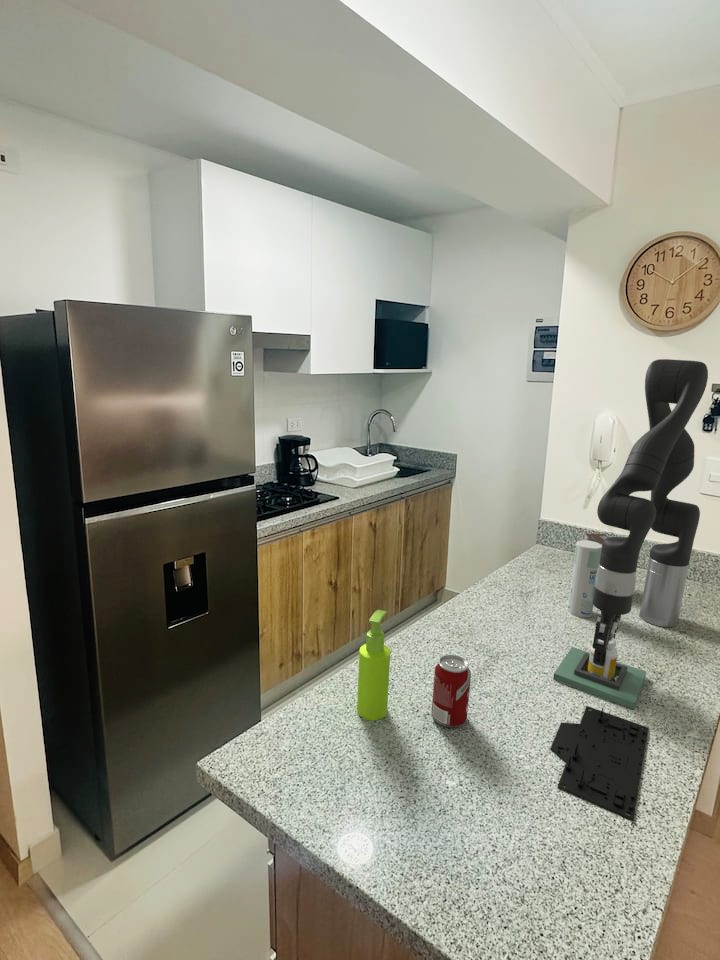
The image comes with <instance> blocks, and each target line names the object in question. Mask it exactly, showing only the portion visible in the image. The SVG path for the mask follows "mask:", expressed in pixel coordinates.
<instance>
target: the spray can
mask: <svg viewBox="0 0 720 960" xmlns="http://www.w3.org/2000/svg"><path fill="white" fill-rule="evenodd" d="M601 549H602V545H601V544H599V543H597V542H594V541H588V540H584V539H581V540H578V541H576V542H575V551H574V557H573V558H574V559H573V565H572V576H571V582H570V591H569V595H568V596H569V598H568V605H567V611H568V612H569V614H571V615H572V616H575V617H579V618H582V619H583V618H584V619H585V618H586V619H587V618H590V617H591V616H592V614H593V609H594V605H593V603H592V600H593V594H594V587H595V580H596V574H597V570H598V567H599V563H600V556H601Z"/></svg>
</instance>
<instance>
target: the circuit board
mask: <svg viewBox="0 0 720 960" xmlns="http://www.w3.org/2000/svg"><path fill="white" fill-rule="evenodd" d="M648 733H649V727H648V726H644V725H642V724H639V723H636V722H634V721H630V720H628V719H625V718H622V717H620V716H616V715H614V714H610V713H609V712H605V711H604V707H602V708H601V710H600V709H597V708H595V707H592V706H588V705H586V706H585V710H584V713H583V714H582V717H581V720H580V723H576V722H575V723H574V722H560V724H559V727H558V729H557V731H556V734H555V736H554V738H553V741H552V744H551V746H550V748H549V749H550V751H551V752H552V753H553V754H554V755H556V757H558V758H560V760H562V762H564V763H565V764H564V768H563V770H562V774H561V776H560V778H559V780H558V781H559V782H558V785H557V789H559V790H561V791H564V792H565V791H566V793H568V794H570V795H572V796H574V797H578V798H580V799H582V800H583V801H586V802H588V803H590V804H592V805H595V806H597V807H600V808H601V809H605V810H606V811H609V812H611V813H613V814H616V815H618V816H620V817H623V818H625V819H627V820H629V821H631V822H633V821H634V818H635V813H636V808H637V807H636V805H637V801H638V795H639V794H638V793H639V789H640V782H641V778H642V777H641V776H642V772H643V771H642V770H643V766H644V765H643V763H644V758H645V753H646V752H645V751H646V745H647V740H648Z"/></svg>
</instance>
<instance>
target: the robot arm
mask: <svg viewBox="0 0 720 960" xmlns="http://www.w3.org/2000/svg"><path fill="white" fill-rule="evenodd" d="M708 369H709V368H708V367H707V364H706V363H704V362H703V361H698V360H687V359H685V360H682V359H668V358H664V359H663V358H662V359H655V360H653V361H652V362H651V363H650V364H649V365H648V367H647V370H646V373H645V377H644V378H645V379H644V392H645V393H644V394H645V396H644V397H645V402H646V409H647V416H648V423H649V424H648V427H649V430H648V431H647V432H645V433H644V434H643V435H642V436H641V437H640V438H638V440H636V442H635V443H634V445H633V446H632V448H631V449H630V451H629V455H628V456H627V460H626V462H625V464H624V467H623V469H622V471H621V473H620V474H619V476H618V477H617V478H616V480H615V481H614V482H613V484H612V485H611V486H610V487H609V488H608V489H607V491H605V493H604V494H603V496H602V497H601V499H600V500H599V502H598V506H597V511H596V513H597V517H598V519H599V521H600V523H602V524H604V525H605V526H608V527H612V528H618V529H621V530H625V531H628V532H629V535H628V536H626V537H625V536H610V537H609V536H608V537H609V538H606V539H605V540H604V541H603V544H602V549H601V556H600V563H599V567H598V570H597V574H596V580H595V587H594V594H593V600H592V603H593V607H595V608H596V609H597V610H599V611H600V614H598V615H597V619H596V623H595V629H594V636H593V641H592V642H593V643H592V645H591V646H593V647H592V648H594V649H595V652H594V658H593V663H594V664H596V665H599V666H604V664H605V660H606V653H607V650H608V645H609V642H610V641H612V640H613V638H614V639H615V640H616V634H617V633H618V632H619V629H620V626H621V621H622V615H623V616H624V615H628V614H629V613H631V611H632V606H633V600H634V594H635V589H636V583H637V582H636V581H637V580H636V579H637V568H638V561H639V556H640V551H641V550H642V547H643V544H644V541H645V539H646V538H647V536H648V534H649V532H650V530H652V531H653V532H655V533H658V534H662V535H666V536H670V537H674V538H678V540H677V541H675V542H669V543H660V544H655V545H653V546H652V547H651V548H650V551H649V557H648V563H647V569H646V573H645V574H646V575H645V581H644V584H643V591H642V597H641V603H640V609H639V613H638V614H639V617H640V619H642V620H643V621H645V622H647V623H649V624H650V625H651V624H652V625H655V626H658V627H663V628H673V627H674V628H675V627H677V625H678V623H679V617H680V613H681V607H682V603H683V598H684V592H685V588H686V584H687V583H686V582H687V576H688V571H689V566H690V560H691V556H692V552H693V551H692V550H693V546H694V541H695V538H696V533H697V530H698V526H699V522H700V517H701V509H700V508H699V506H698V505H697V504H694V503H690V502H685V501H680V500H679V501H678V500H674V499H673V500H672V499H669V498H668V495H669V494H670V493H671V492H672V491H673V490H675V488H677V487H678V486H679V485H681V483H683V482H684V481H685V480H687V478H688V477H689V476H690V474H691V473H692V471H693V470H694V466H695V443H694V441H693V438H692V436H691V435H690V434H689V432H688V431H687V430H686V426H687V425H688V422H690V419H691V417H692V415H693V414H694V413H695V411H696V409H697V407H698V406H699V403H700V402H701V399H702V398H703V395H704V394H705V391H706V388H707V384H708V381H709V380H708V379H709V370H708ZM670 404H675V406H674V408H673V409H671V405H670ZM638 492H650V499H648V498H643V497H640V496H635V495H631V494H633V493H638ZM599 640H602V641H604V644H601V643H598V642H599Z"/></svg>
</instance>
